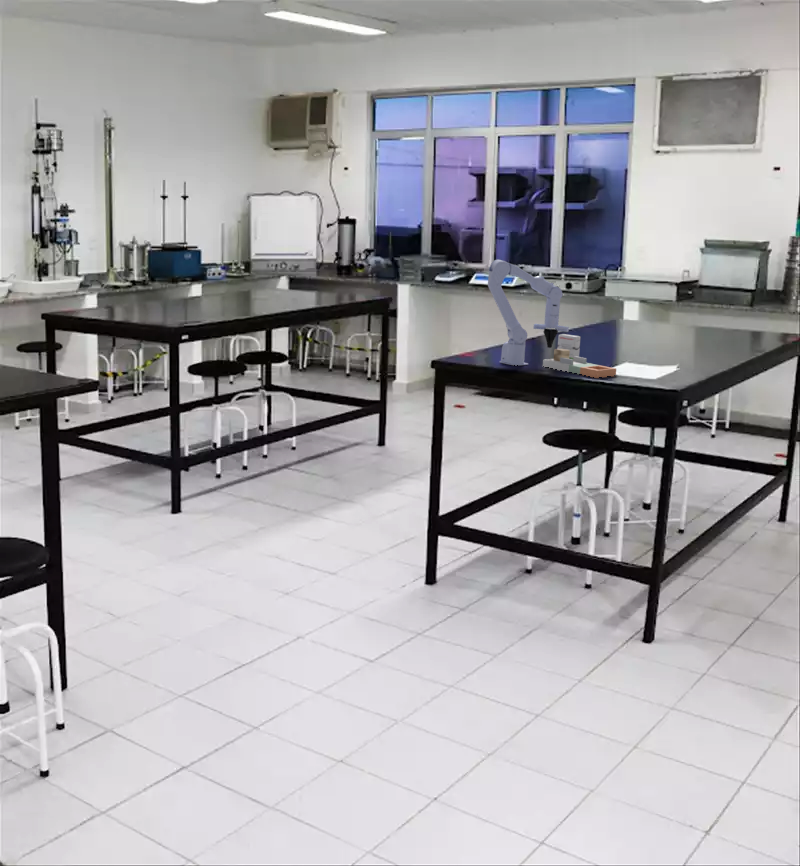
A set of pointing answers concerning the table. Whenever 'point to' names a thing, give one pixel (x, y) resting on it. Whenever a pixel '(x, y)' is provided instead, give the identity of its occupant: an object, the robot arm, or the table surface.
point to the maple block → (561, 354)
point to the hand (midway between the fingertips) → (549, 347)
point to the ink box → (569, 344)
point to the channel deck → (580, 367)
